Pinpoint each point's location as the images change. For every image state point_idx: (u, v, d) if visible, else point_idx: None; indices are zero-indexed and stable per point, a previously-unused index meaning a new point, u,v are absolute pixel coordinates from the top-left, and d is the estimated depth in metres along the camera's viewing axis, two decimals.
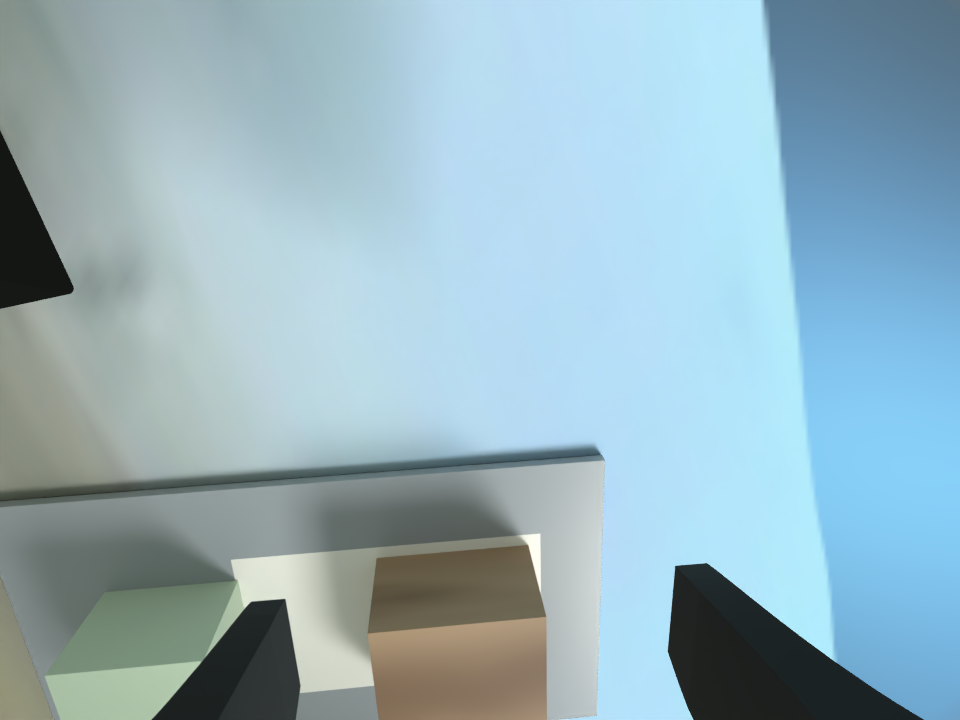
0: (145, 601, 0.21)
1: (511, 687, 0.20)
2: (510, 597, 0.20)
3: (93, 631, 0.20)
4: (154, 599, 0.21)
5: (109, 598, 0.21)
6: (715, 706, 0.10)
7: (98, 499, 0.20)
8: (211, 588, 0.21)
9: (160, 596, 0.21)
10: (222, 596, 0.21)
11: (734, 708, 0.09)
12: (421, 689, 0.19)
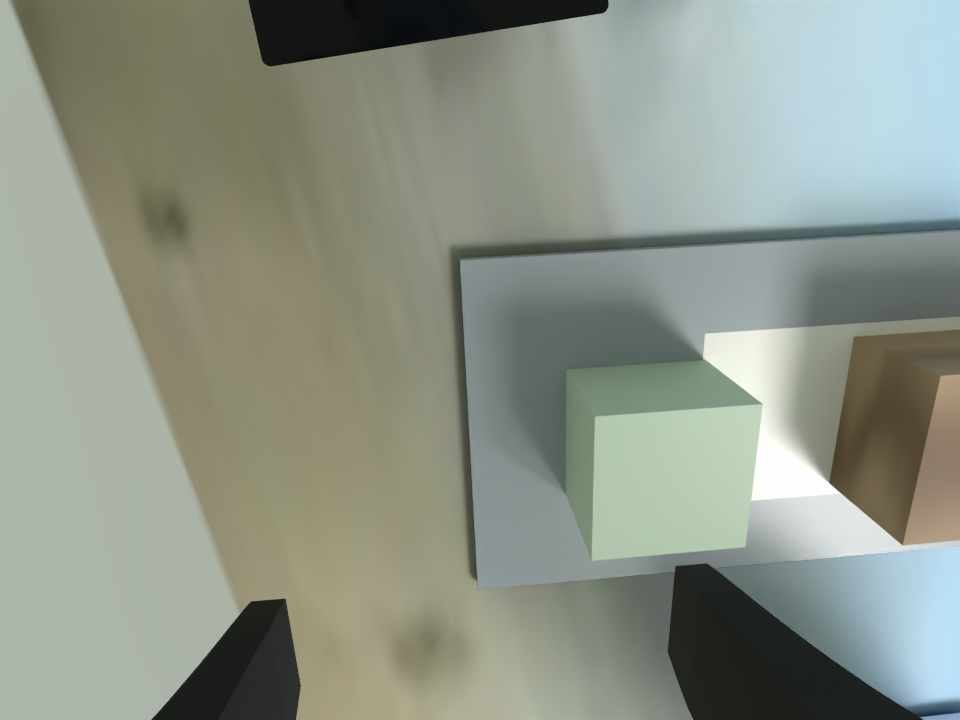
0: (624, 373, 0.19)
1: None
2: None
3: (599, 390, 0.18)
4: (632, 372, 0.19)
5: (580, 373, 0.19)
6: (715, 706, 0.10)
7: (588, 252, 0.18)
8: (684, 364, 0.20)
9: (635, 370, 0.19)
10: (707, 368, 0.19)
11: (734, 708, 0.09)
12: None
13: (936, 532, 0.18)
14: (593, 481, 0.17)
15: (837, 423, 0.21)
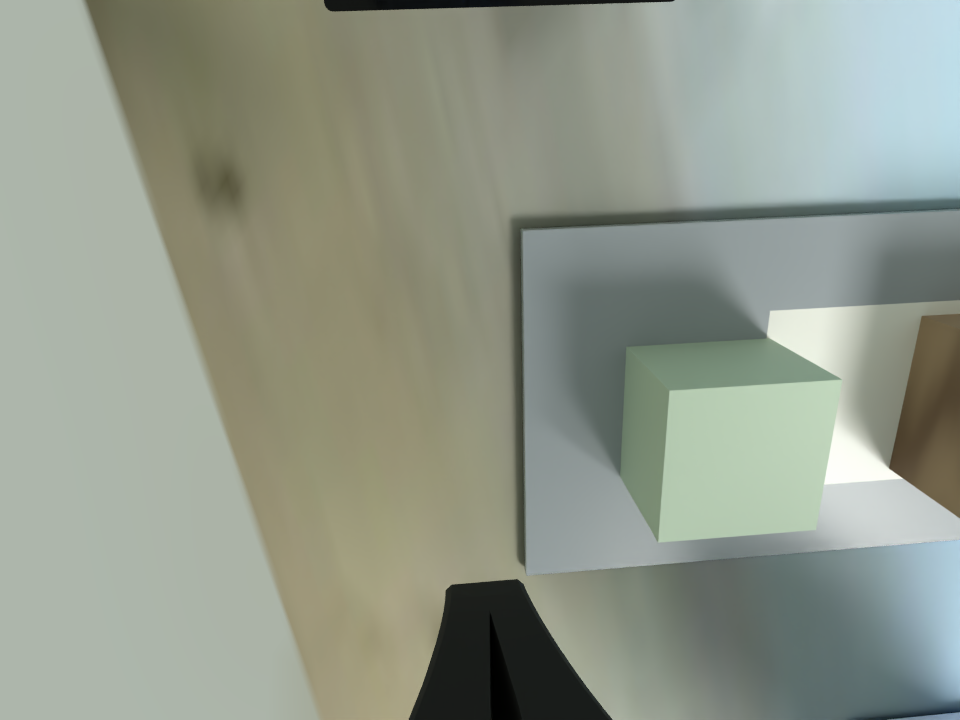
0: (688, 350, 0.18)
1: None
2: None
3: (667, 366, 0.17)
4: (696, 349, 0.18)
5: (642, 350, 0.19)
6: None
7: (654, 224, 0.18)
8: (749, 342, 0.19)
9: (699, 347, 0.19)
10: (773, 346, 0.18)
11: None
12: None
13: None
14: (664, 459, 0.16)
15: (900, 406, 0.20)
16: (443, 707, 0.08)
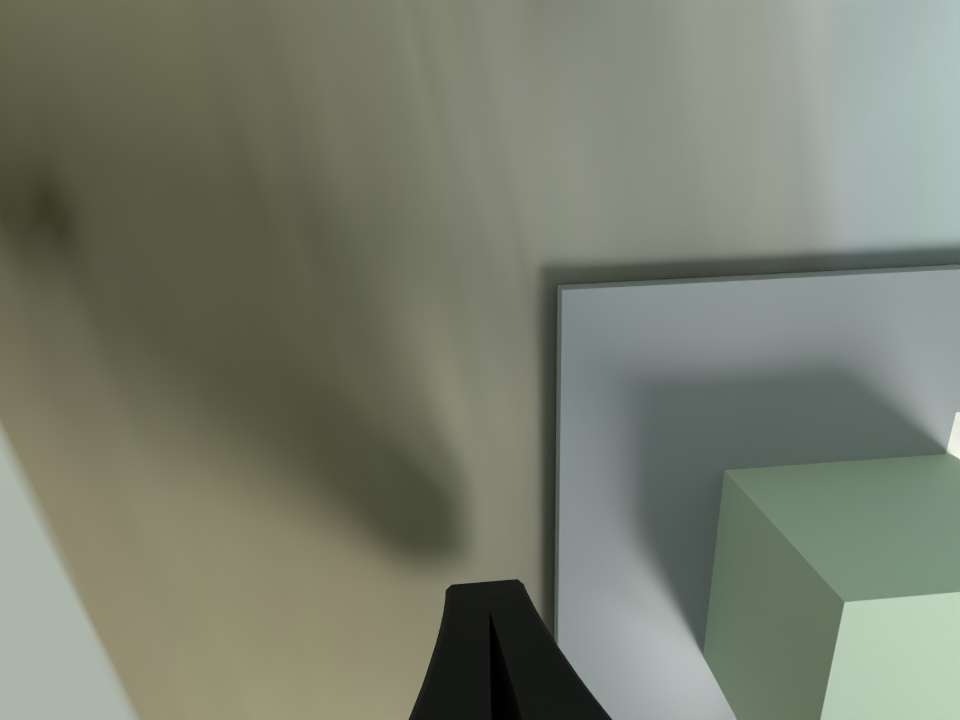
0: (830, 482, 0.11)
1: None
2: None
3: (812, 526, 0.10)
4: (843, 479, 0.11)
5: (753, 479, 0.11)
6: None
7: (782, 278, 0.11)
8: (922, 464, 0.12)
9: (845, 475, 0.11)
10: None
11: None
12: None
13: None
14: (821, 709, 0.09)
15: None
16: (443, 707, 0.08)
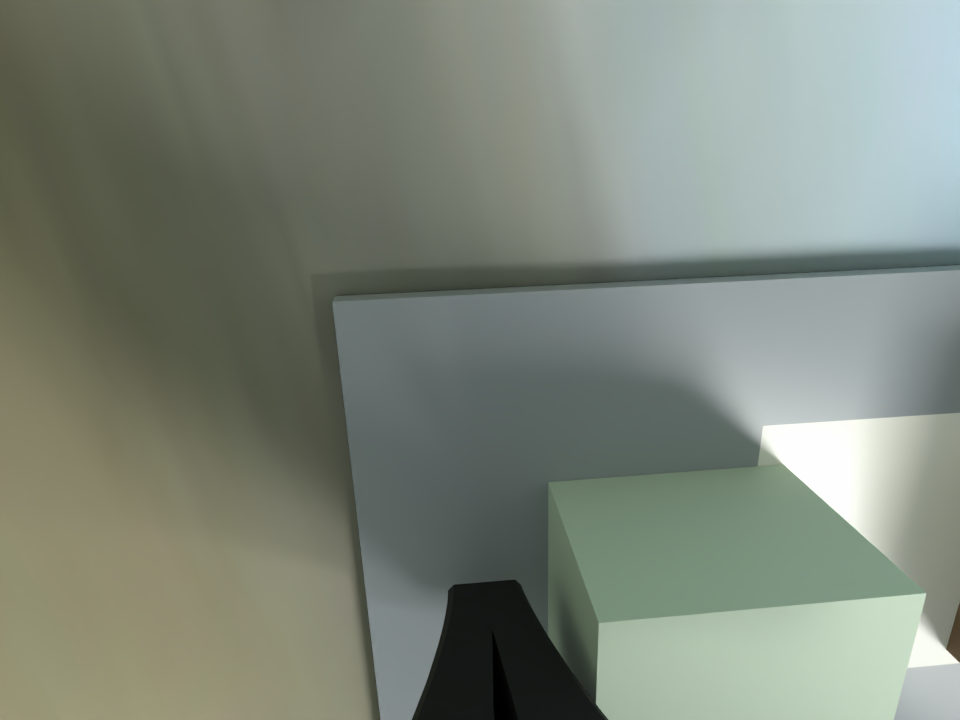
0: (648, 494, 0.11)
1: None
2: None
3: (606, 542, 0.10)
4: (662, 491, 0.11)
5: (571, 491, 0.11)
6: None
7: (564, 289, 0.10)
8: (750, 475, 0.11)
9: (667, 487, 0.11)
10: (792, 487, 0.11)
11: None
12: None
13: None
14: None
15: None
16: (446, 707, 0.08)
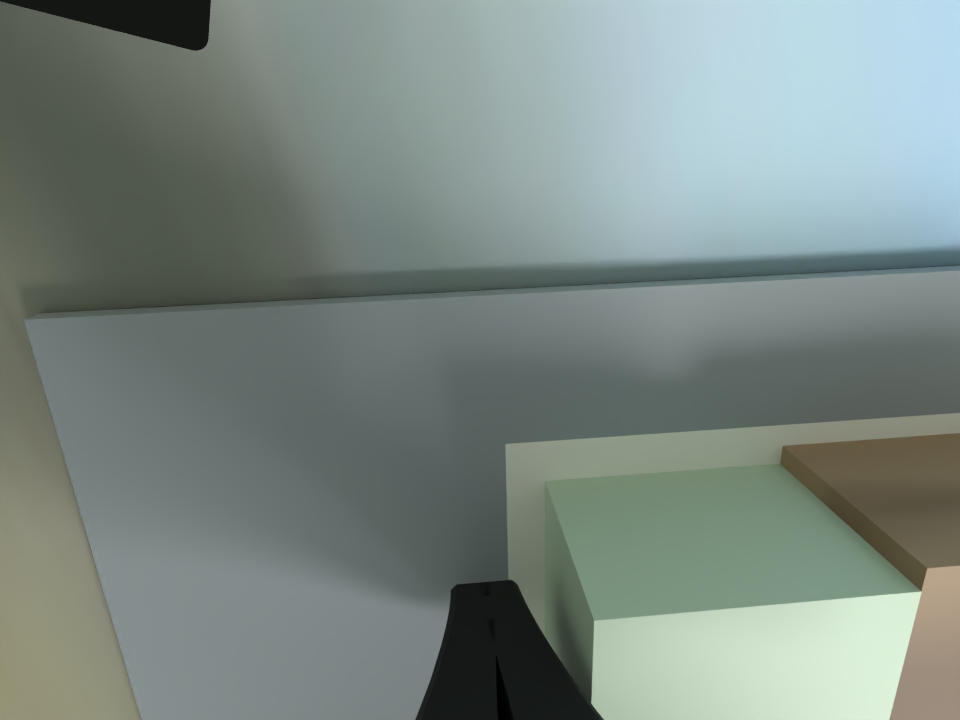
0: (645, 493, 0.11)
1: None
2: None
3: (602, 540, 0.10)
4: (659, 490, 0.11)
5: (568, 490, 0.11)
6: None
7: (270, 306, 0.10)
8: (746, 474, 0.11)
9: (663, 486, 0.11)
10: (788, 486, 0.11)
11: None
12: None
13: None
14: None
15: None
16: (449, 706, 0.08)
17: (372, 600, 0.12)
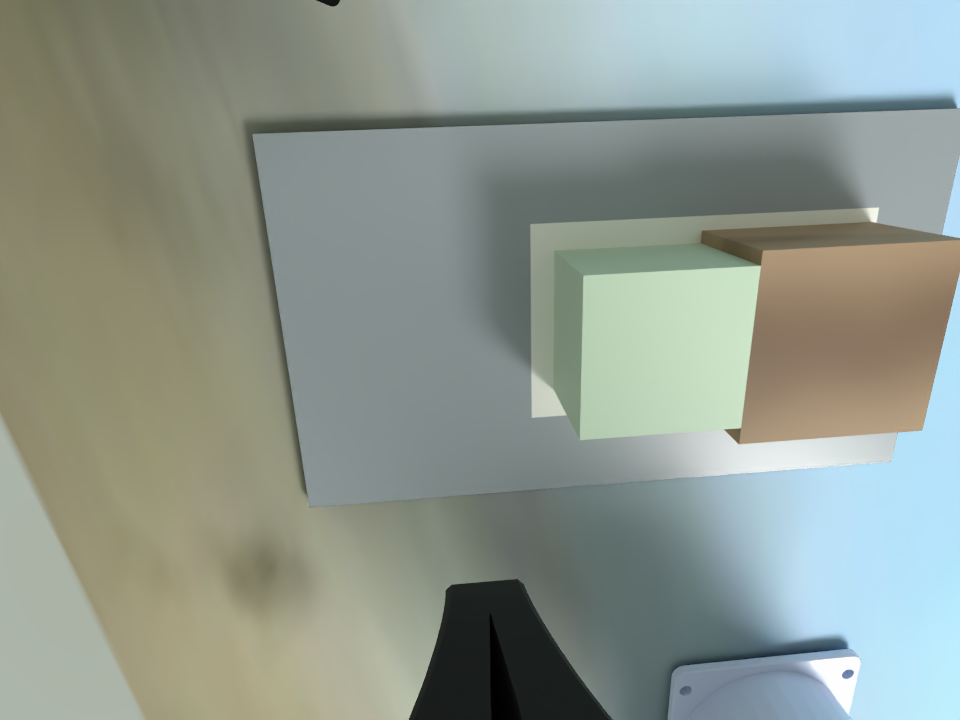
0: (615, 251, 0.18)
1: (903, 342, 0.17)
2: (902, 235, 0.17)
3: (588, 261, 0.17)
4: (624, 251, 0.18)
5: (569, 252, 0.18)
6: None
7: None
8: (678, 246, 0.19)
9: (627, 250, 0.18)
10: (702, 248, 0.18)
11: None
12: (804, 338, 0.16)
13: (774, 430, 0.17)
14: (581, 350, 0.16)
15: None
16: (443, 707, 0.08)
17: (445, 333, 0.19)
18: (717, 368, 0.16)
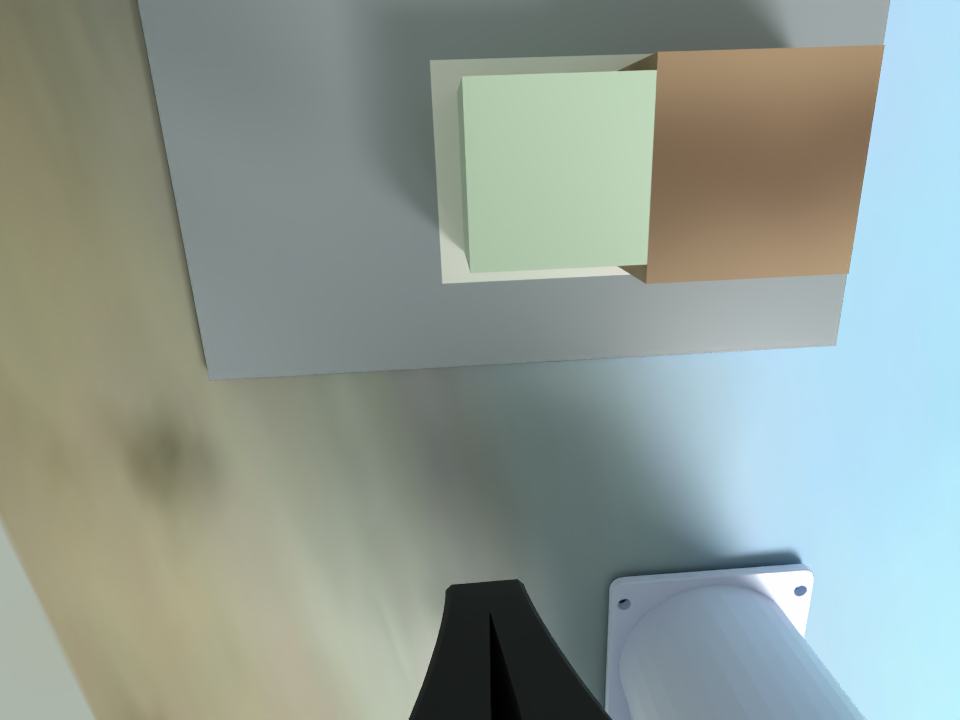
0: None
1: (821, 167, 0.15)
2: None
3: None
4: None
5: None
6: None
7: None
8: None
9: None
10: None
11: None
12: (710, 159, 0.15)
13: (684, 268, 0.16)
14: (465, 165, 0.15)
15: None
16: (443, 707, 0.08)
17: (344, 184, 0.18)
18: (616, 191, 0.15)
